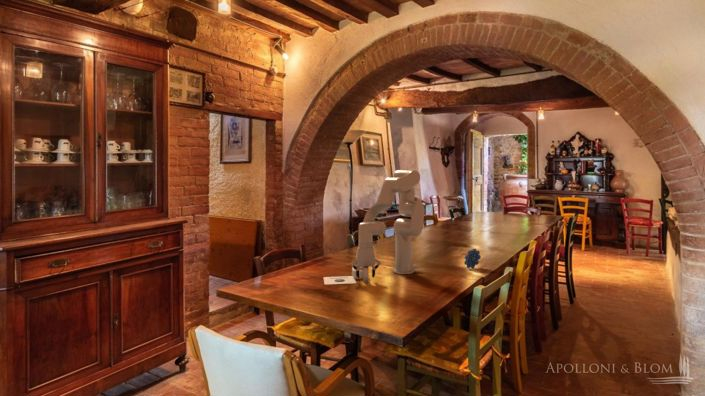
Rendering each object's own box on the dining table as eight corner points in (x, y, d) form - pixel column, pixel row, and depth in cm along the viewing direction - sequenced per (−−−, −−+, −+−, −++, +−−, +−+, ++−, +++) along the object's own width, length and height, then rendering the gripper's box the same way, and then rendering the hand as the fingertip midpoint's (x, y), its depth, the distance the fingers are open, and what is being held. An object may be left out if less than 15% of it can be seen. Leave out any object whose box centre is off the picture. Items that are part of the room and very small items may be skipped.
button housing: (365, 274, 238) (365, 266, 238) (367, 278, 230) (367, 270, 230) (351, 275, 238) (351, 267, 237) (353, 278, 230) (353, 271, 229)
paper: (353, 276, 235) (353, 275, 235) (356, 283, 221) (356, 282, 221) (323, 277, 233) (323, 276, 233) (324, 284, 219) (324, 284, 219)
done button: (362, 270, 236) (362, 265, 235) (363, 272, 232) (363, 267, 232) (356, 270, 235) (356, 265, 235) (356, 272, 232) (356, 267, 232)
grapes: (475, 265, 257) (475, 246, 256) (482, 268, 251) (483, 248, 250) (460, 267, 253) (460, 248, 252) (467, 270, 246) (467, 250, 245)
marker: (368, 280, 226) (368, 262, 225) (369, 282, 223) (369, 264, 222) (362, 280, 226) (362, 262, 225) (363, 282, 223) (363, 264, 222)
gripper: (380, 243, 227) (380, 274, 229) (348, 244, 225) (349, 276, 227) (382, 246, 220) (382, 278, 221) (350, 247, 218) (350, 279, 219)
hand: (365, 277), depth 224 cm, fingers open, 7 cm apart
